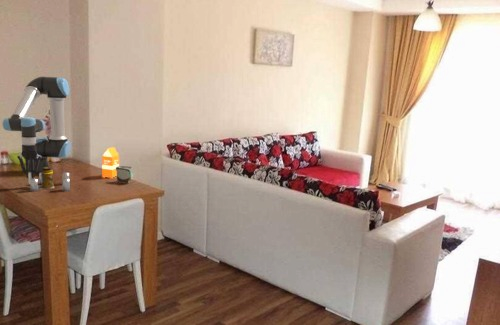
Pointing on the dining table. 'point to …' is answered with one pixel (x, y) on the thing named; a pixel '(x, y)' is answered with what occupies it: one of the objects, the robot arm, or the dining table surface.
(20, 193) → the dining table surface
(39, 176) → the cylinder
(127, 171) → the retro television
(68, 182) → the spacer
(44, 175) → the condiment
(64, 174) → the cylinder
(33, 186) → the cylinder
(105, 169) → the orange juice
